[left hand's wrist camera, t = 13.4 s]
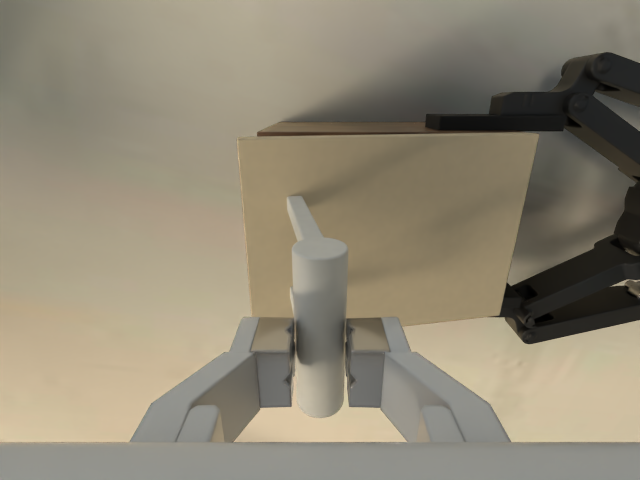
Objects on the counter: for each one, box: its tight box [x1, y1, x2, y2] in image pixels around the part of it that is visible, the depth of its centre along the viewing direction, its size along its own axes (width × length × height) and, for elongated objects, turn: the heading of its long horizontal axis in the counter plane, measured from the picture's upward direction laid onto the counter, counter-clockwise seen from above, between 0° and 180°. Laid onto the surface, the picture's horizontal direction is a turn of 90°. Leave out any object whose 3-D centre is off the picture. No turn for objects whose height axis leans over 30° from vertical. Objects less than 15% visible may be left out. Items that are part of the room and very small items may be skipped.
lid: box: [237, 132, 539, 418], centre depth 14 cm, size 14×10×8 cm
